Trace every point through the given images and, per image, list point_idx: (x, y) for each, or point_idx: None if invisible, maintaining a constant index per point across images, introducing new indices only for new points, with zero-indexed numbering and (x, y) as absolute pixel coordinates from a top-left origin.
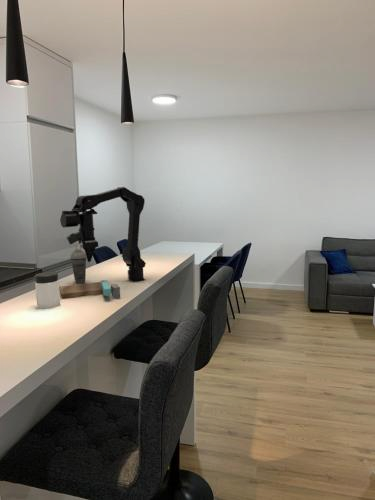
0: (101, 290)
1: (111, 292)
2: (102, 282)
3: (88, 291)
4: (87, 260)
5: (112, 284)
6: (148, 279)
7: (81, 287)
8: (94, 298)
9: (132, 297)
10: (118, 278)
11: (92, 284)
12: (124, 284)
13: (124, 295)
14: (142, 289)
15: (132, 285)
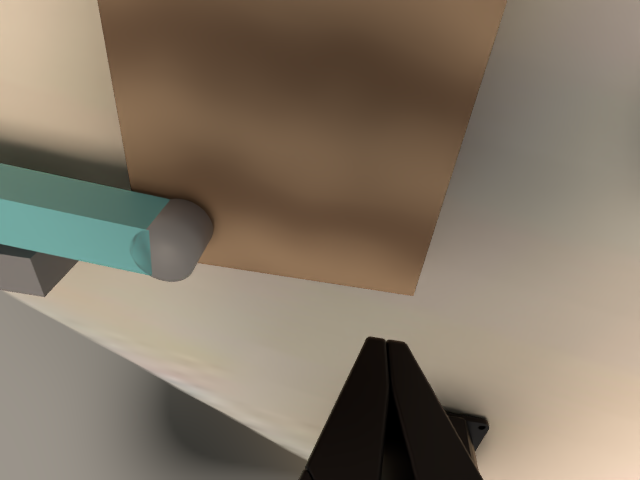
0: (134, 177)
1: None
2: (101, 227)
3: (112, 61)
4: (404, 356)
5: (28, 268)
6: None
7: (304, 33)
8: (24, 72)
9: None
10: (571, 392)
11: (372, 173)
12: None
13: None
14: (174, 375)
15: (301, 376)
